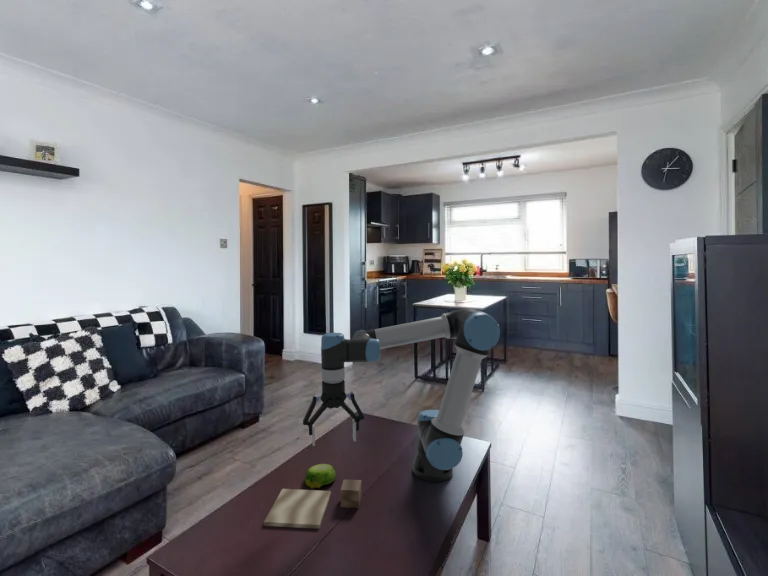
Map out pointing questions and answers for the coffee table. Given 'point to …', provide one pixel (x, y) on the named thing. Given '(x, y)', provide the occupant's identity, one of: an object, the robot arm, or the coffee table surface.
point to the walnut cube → (351, 493)
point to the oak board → (298, 509)
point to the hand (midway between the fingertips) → (334, 441)
